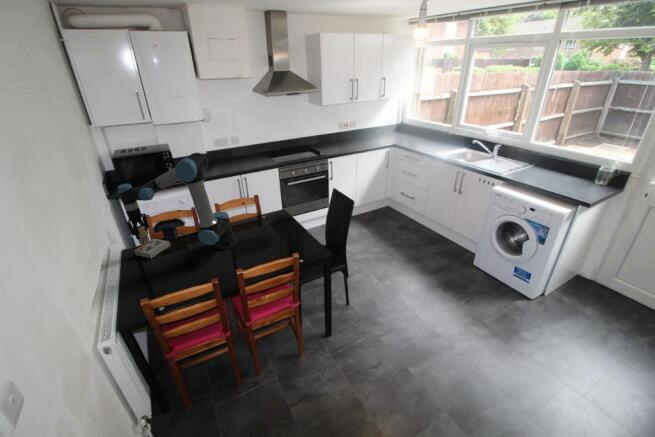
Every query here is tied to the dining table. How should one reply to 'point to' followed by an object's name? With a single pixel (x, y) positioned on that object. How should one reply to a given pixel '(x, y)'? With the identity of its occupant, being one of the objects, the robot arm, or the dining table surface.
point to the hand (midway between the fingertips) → (144, 240)
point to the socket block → (152, 248)
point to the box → (169, 231)
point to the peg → (143, 235)
